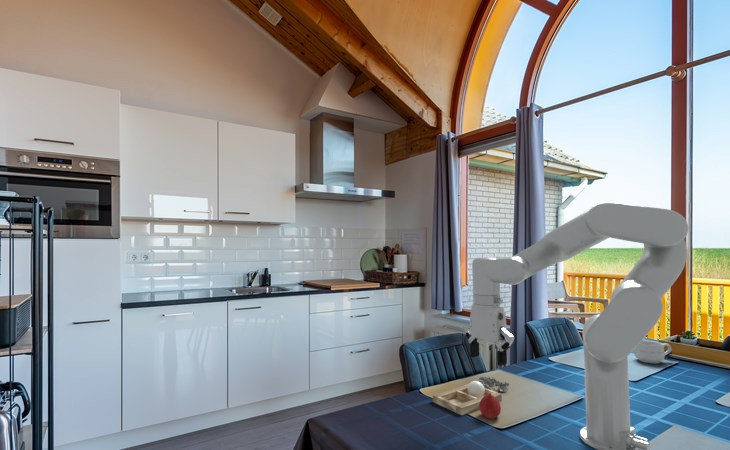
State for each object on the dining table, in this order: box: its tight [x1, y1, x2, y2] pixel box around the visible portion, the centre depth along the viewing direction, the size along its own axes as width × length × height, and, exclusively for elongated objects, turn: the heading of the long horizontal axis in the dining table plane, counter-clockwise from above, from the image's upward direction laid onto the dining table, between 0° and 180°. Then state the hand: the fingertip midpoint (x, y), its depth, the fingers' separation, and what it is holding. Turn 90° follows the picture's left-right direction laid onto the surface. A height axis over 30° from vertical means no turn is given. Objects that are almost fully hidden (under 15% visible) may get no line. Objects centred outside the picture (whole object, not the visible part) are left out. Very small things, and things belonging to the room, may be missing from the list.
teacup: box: [633, 340, 672, 364], centre depth 165 cm, size 14×11×8 cm
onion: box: [479, 392, 502, 420], centre depth 112 cm, size 6×6×8 cm
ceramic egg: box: [468, 380, 485, 398], centre depth 125 cm, size 5×5×5 cm
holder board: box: [432, 383, 503, 416], centre depth 123 cm, size 12×18×3 cm, turn 124°
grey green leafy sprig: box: [477, 376, 510, 393], centre depth 135 cm, size 11×8×4 cm
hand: (488, 360), depth 114 cm, fingers open, 9 cm apart
